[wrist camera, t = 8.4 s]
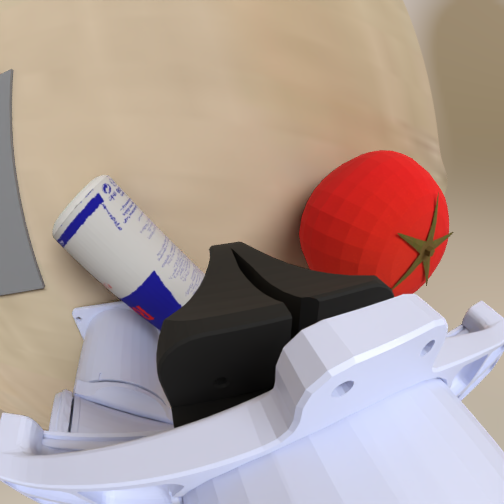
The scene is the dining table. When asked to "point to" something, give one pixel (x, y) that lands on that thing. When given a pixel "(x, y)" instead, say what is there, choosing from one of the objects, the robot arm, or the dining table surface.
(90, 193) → the beverage can
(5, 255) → the mat
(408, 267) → the tomato
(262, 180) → the dining table surface
